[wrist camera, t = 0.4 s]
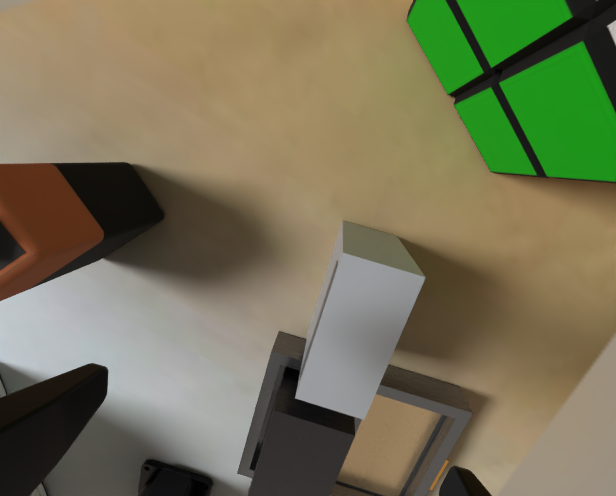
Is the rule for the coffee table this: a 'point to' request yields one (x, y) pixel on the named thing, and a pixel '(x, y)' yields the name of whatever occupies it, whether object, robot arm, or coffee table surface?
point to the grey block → (357, 319)
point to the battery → (66, 218)
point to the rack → (350, 435)
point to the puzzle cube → (529, 80)
